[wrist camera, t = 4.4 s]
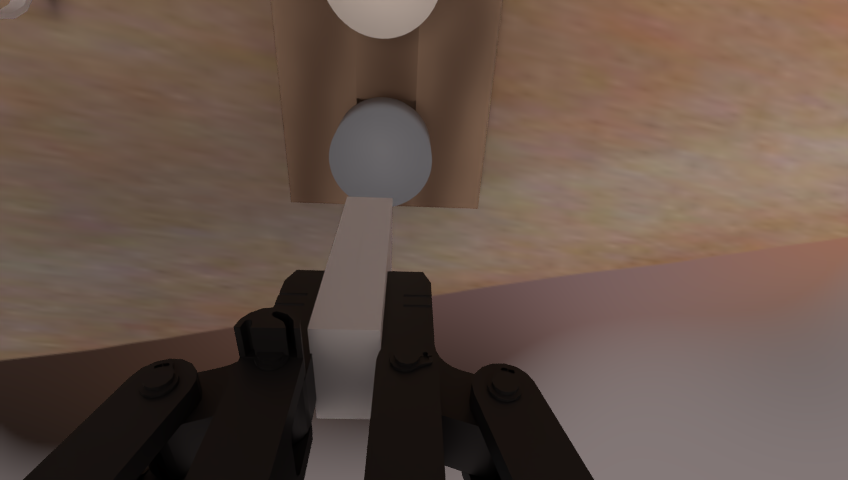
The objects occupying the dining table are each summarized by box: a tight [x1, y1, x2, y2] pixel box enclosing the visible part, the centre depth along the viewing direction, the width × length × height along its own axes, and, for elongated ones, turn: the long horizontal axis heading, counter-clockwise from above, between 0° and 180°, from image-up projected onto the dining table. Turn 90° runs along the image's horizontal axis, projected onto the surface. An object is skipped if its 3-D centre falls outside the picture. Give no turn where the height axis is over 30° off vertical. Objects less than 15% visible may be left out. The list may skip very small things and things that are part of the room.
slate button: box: [329, 97, 432, 207], centre depth 24 cm, size 5×5×5 cm
